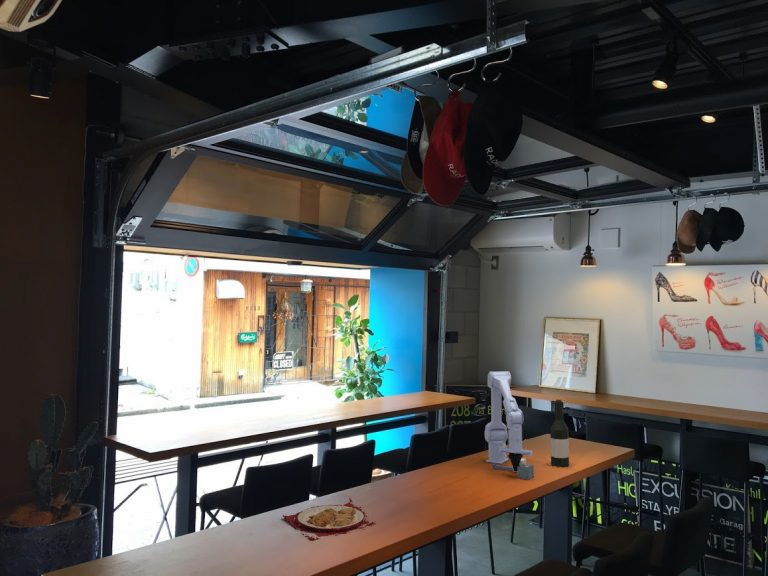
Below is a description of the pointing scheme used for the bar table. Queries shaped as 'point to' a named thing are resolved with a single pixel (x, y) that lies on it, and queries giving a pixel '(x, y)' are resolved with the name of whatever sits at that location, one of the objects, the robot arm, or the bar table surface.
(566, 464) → the wine bottle
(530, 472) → the gauge cabinet
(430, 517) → the bar table surface
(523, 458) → the carriage
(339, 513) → the plate with food
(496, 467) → the rail
